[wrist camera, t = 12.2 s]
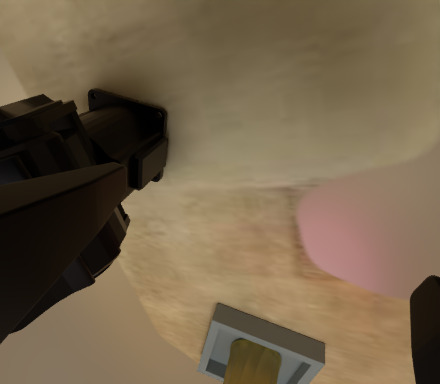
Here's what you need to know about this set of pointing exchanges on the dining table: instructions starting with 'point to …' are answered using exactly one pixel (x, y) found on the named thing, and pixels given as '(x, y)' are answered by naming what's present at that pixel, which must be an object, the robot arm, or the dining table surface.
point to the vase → (252, 364)
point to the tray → (264, 335)
